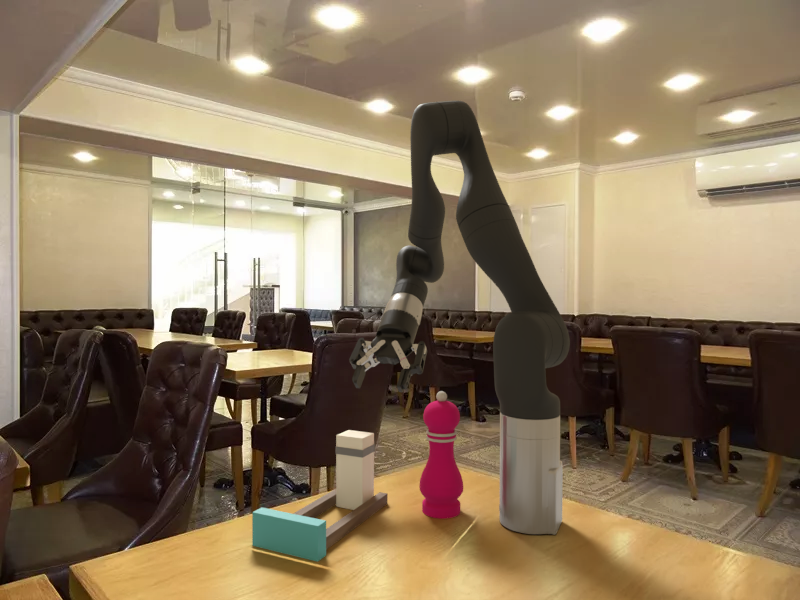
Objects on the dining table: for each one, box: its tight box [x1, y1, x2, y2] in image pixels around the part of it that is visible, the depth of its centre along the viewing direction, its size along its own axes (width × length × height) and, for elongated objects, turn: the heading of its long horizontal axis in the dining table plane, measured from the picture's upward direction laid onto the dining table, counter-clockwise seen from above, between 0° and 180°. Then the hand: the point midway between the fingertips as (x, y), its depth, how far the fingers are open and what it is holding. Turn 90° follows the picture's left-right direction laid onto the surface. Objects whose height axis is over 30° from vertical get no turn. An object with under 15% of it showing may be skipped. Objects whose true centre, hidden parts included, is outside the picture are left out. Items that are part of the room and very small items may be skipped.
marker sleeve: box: [334, 429, 376, 511], centre depth 94 cm, size 5×4×12 cm
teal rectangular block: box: [251, 506, 327, 562], centre depth 77 cm, size 11×2×5 cm, turn 65°
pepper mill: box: [419, 390, 464, 520], centre depth 92 cm, size 7×7×20 cm
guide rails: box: [292, 488, 388, 551], centre depth 87 cm, size 9×22×2 cm, turn 155°
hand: (377, 387), depth 102 cm, fingers open, 8 cm apart
